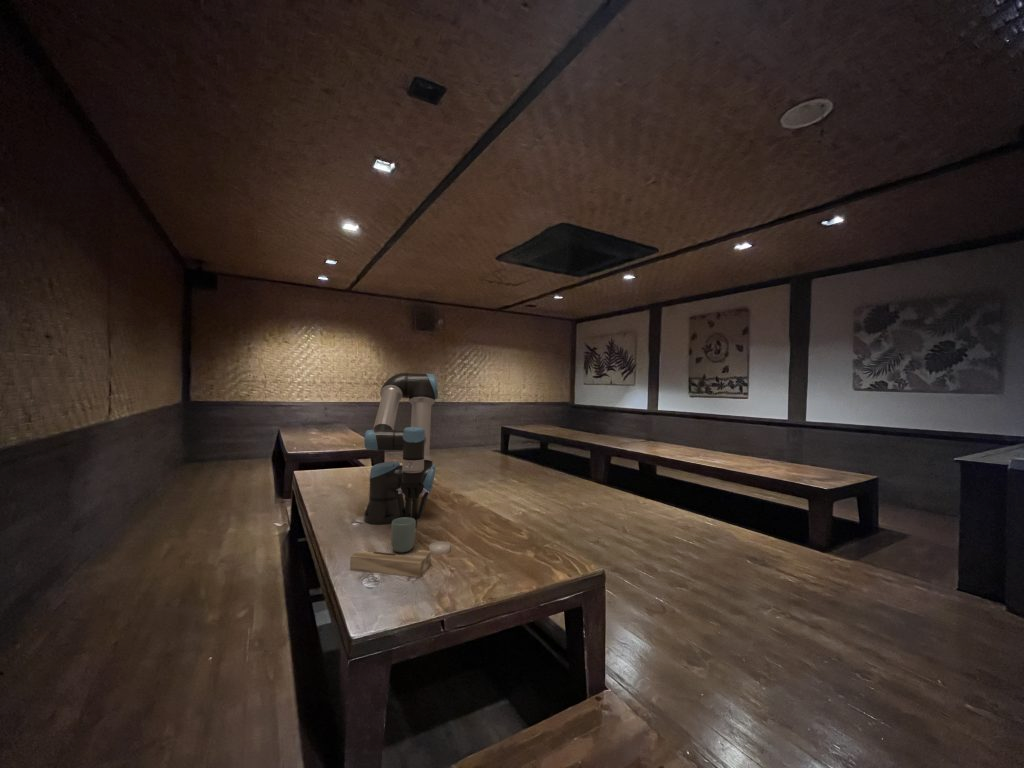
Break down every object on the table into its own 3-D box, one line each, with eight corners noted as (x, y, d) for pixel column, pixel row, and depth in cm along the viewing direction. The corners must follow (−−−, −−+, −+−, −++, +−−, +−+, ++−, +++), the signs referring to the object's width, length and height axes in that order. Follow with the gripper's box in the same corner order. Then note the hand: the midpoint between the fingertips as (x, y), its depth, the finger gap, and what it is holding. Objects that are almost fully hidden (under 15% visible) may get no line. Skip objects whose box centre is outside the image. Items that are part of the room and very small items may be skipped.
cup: (408, 556, 129) (409, 525, 129) (386, 553, 131) (387, 523, 131) (418, 547, 137) (419, 518, 137) (397, 544, 138) (398, 516, 138)
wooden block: (365, 557, 127) (366, 544, 127) (430, 564, 124) (431, 550, 124) (350, 569, 118) (350, 555, 118) (419, 577, 115) (420, 562, 115)
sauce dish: (433, 546, 139) (433, 540, 139) (452, 548, 138) (452, 542, 138) (426, 554, 132) (426, 548, 132) (446, 556, 131) (446, 550, 131)
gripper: (390, 471, 138) (388, 540, 137) (426, 474, 136) (424, 543, 135) (400, 468, 145) (398, 532, 144) (434, 470, 143) (432, 535, 142)
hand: (410, 537), depth 140 cm, fingers closed
